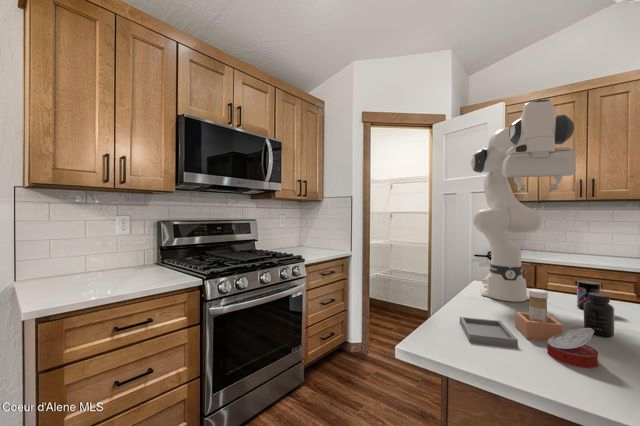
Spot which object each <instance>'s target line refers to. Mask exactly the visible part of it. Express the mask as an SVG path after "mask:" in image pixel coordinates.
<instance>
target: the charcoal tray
mask: <svg viewBox="0 0 640 426" xmlns="http://www.w3.org/2000/svg"><path fill="white" fill-rule="evenodd" d="M459 324H460V326H461V329H462V330H463V332H464V335H465V336H466V338H467V340H468V341H469V342H472V343H479V344H486V345H487V344H488V345H497V346H505V347H513V348H518V347H519V341H518V340H519V339H518V338H517V337H516V336H515V335H514V334H513V333H512V332H511V331H510V329H509V328H508V327H506V325H505V324H504V323H503V322H502V321H501V320H496V319H495V320H494V319H485V318H478V317H477V318H475V317H467V316H459Z"/></svg>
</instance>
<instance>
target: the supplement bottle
mask: <svg viewBox="0 0 640 426" xmlns="http://www.w3.org/2000/svg"><path fill="white" fill-rule="evenodd" d="M588 299H589V301H587V302H585V303H584V310H583V328H592V329H593V330H594V333H593V335H592V336H595V337H600V338H606V339H607V338H613V337H614V336H615V308H614V306H613V305H612V304H610V302H611V300H610V296H609V294H605V293H601V292H600V293H588Z"/></svg>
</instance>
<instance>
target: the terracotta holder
mask: <svg viewBox="0 0 640 426" xmlns="http://www.w3.org/2000/svg"><path fill="white" fill-rule="evenodd" d="M514 314H515V317H514V318H515V324H514V325H515V326H514V327H515V329H516V330H517V331H518V332H519V333H520V334H521V335H522V336H523V337H524V338H525V339H526V340H532V339H533V340H532V341H542V342H547V341H548V339H550V338H551V337H552V336H554V335H556V334H558V333H562V332H564V324H562V323H561V322H559V321H558V320H557V319H556V318H554V317H552V316H551V315H549V314H547V323H546V322H536V321H529V312H522V311H521V312H520V311H515V313H514Z"/></svg>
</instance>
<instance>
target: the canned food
mask: <svg viewBox="0 0 640 426" xmlns="http://www.w3.org/2000/svg"><path fill="white" fill-rule="evenodd" d="M593 333H594V330H593V329H592V328H584V327H582V328H574V329H571V330H565V331H563V332H562V333H558V334H556V335H554V336H552V337H551V338H550V339H548V341H546V342H547V343H546V344H547V346H546V347H547V348H546V353H547V355H548V356H549V357H550V358H552V359H554V360H556V361H558V362H560V363H564V364H566V365H569V366H572V367H577V368H584V369H593V368H598V366H599V352H598V350H597V349H595V348H594V347H592V346H590V345H588V344H587V343H588V342H590V340H592V336H594V335H593Z"/></svg>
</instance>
